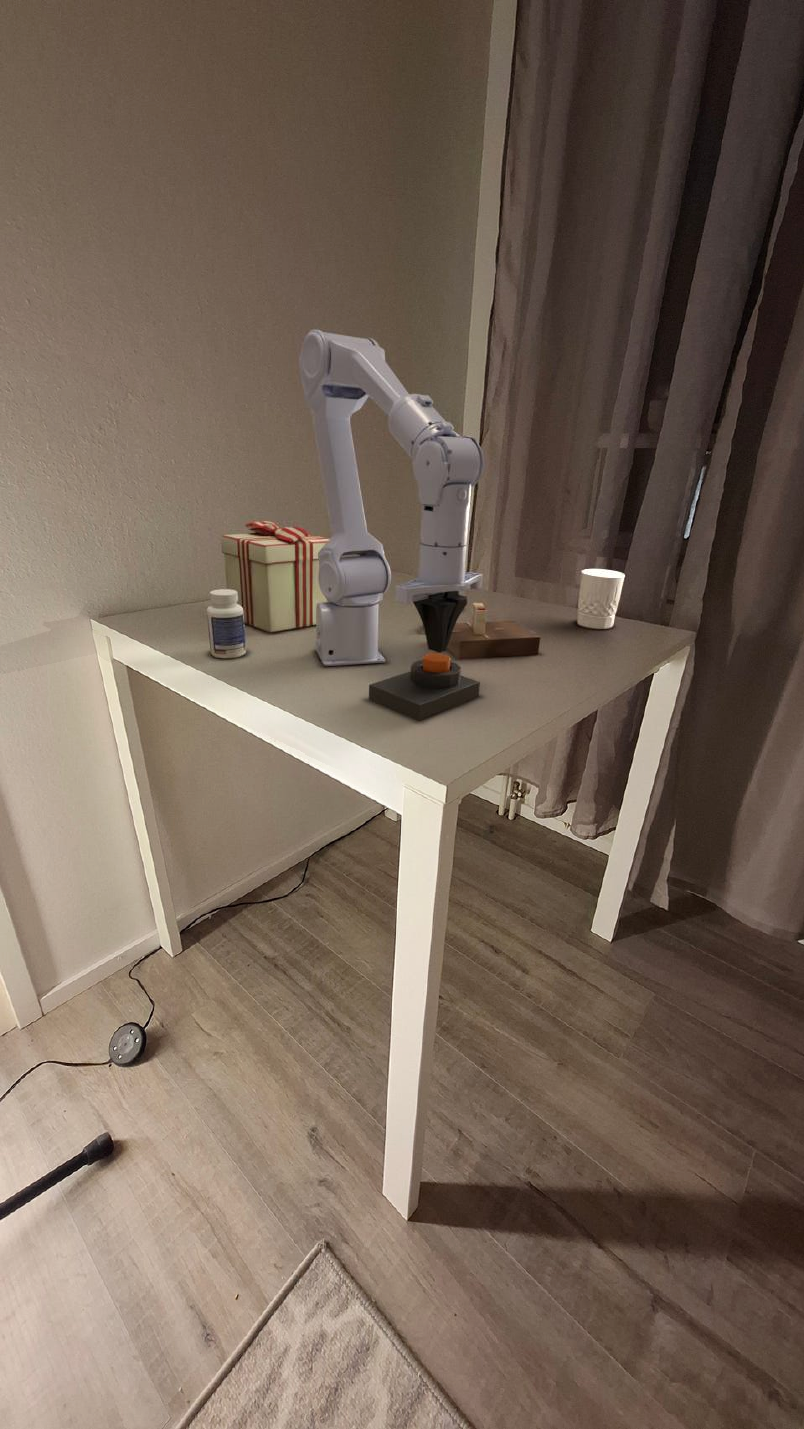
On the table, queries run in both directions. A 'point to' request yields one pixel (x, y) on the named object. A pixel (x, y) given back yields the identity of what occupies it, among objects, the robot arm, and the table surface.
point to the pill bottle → (226, 624)
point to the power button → (436, 662)
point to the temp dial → (478, 619)
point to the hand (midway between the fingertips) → (437, 650)
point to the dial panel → (493, 640)
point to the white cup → (599, 597)
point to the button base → (424, 691)
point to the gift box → (274, 575)
